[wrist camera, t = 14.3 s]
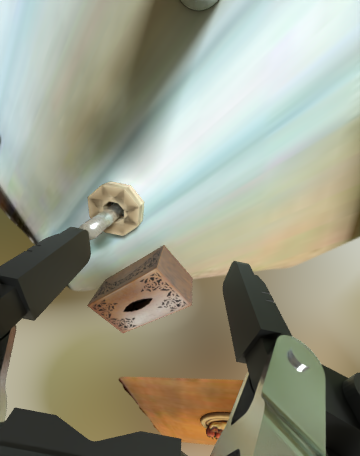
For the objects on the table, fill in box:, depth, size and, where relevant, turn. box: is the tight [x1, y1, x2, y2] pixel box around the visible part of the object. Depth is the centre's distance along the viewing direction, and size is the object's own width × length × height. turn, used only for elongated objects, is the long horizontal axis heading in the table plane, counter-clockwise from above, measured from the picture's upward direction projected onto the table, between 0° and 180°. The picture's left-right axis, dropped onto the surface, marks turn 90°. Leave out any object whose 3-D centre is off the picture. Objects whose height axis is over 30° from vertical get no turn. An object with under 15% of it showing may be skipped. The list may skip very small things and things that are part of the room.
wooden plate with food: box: [201, 412, 231, 440], centre depth 96 cm, size 32×32×8 cm
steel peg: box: [80, 203, 124, 240], centre depth 35 cm, size 3×3×14 cm
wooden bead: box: [88, 182, 144, 236], centre depth 39 cm, size 12×12×4 cm
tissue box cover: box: [88, 245, 192, 333], centre depth 47 cm, size 26×14×10 cm, turn 126°
